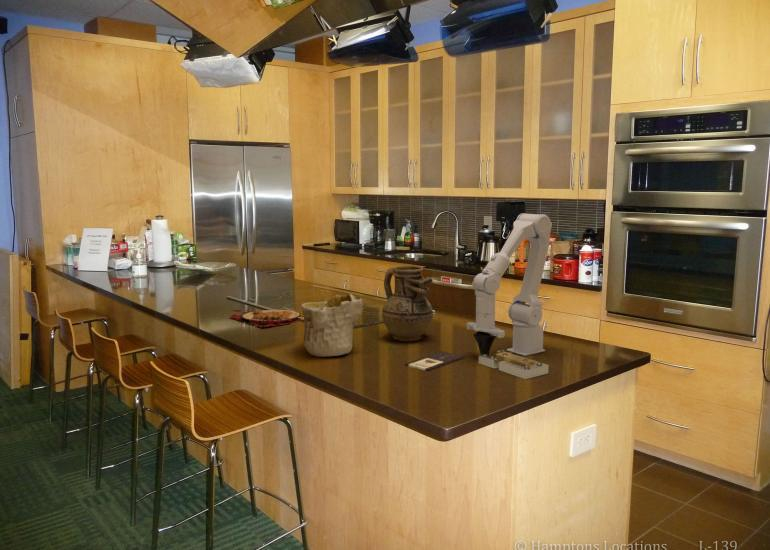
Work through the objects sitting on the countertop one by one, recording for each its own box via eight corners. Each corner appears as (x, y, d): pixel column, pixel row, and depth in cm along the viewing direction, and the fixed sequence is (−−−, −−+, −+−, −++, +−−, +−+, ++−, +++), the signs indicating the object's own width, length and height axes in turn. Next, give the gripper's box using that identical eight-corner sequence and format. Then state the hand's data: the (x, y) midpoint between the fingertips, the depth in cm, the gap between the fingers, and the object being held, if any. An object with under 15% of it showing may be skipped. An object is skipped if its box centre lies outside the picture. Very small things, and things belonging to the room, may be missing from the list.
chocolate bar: (464, 356, 194) (428, 369, 181) (464, 359, 194) (428, 372, 181) (441, 351, 200) (405, 363, 187) (441, 354, 200) (405, 366, 187)
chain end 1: (500, 358, 193) (500, 348, 193) (515, 363, 188) (516, 353, 188) (478, 363, 188) (478, 353, 188) (493, 368, 183) (494, 358, 182)
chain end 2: (520, 364, 186) (521, 355, 186) (548, 373, 178) (548, 363, 177) (498, 370, 181) (498, 360, 181) (525, 379, 173) (526, 368, 172)
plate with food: (263, 331, 234) (263, 322, 234) (229, 318, 254) (228, 310, 253) (316, 322, 251) (316, 313, 250) (280, 310, 270) (280, 302, 270)
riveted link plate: (504, 363, 189) (504, 351, 189) (535, 373, 179) (535, 360, 179) (495, 365, 187) (495, 353, 186) (525, 375, 177) (526, 362, 177)
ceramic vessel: (266, 331, 199) (302, 271, 206) (312, 362, 212) (344, 305, 219) (302, 342, 184) (339, 277, 191) (350, 375, 197) (383, 313, 204)
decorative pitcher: (367, 337, 221) (366, 267, 217) (403, 329, 233) (403, 262, 229) (411, 348, 205) (411, 273, 201) (447, 339, 217) (447, 268, 213)
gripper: (459, 310, 194) (459, 352, 196) (492, 318, 182) (492, 363, 184) (476, 307, 198) (475, 349, 200) (509, 315, 186) (509, 359, 188)
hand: (484, 355), depth 192 cm, fingers closed
